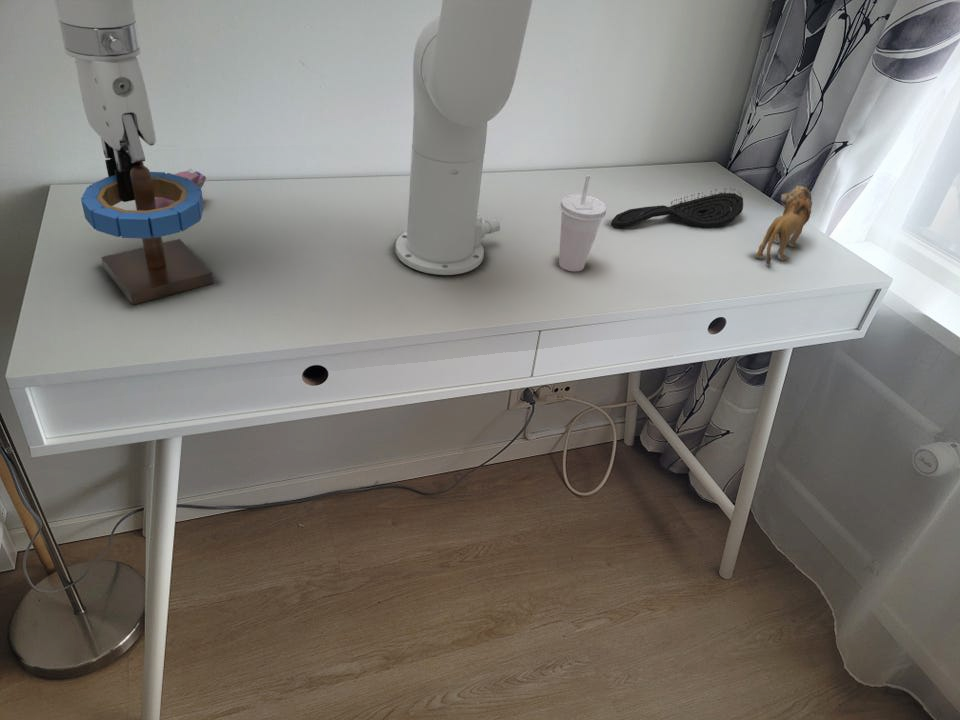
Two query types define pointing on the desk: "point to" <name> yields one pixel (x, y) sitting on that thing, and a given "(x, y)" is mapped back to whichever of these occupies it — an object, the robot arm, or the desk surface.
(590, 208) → the smoothie
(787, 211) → the lion figurine
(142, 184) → the stand
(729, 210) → the hairbrush
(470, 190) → the robot arm
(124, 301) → the desk surface
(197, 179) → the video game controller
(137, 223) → the tape roll
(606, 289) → the desk surface
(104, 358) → the desk surface
